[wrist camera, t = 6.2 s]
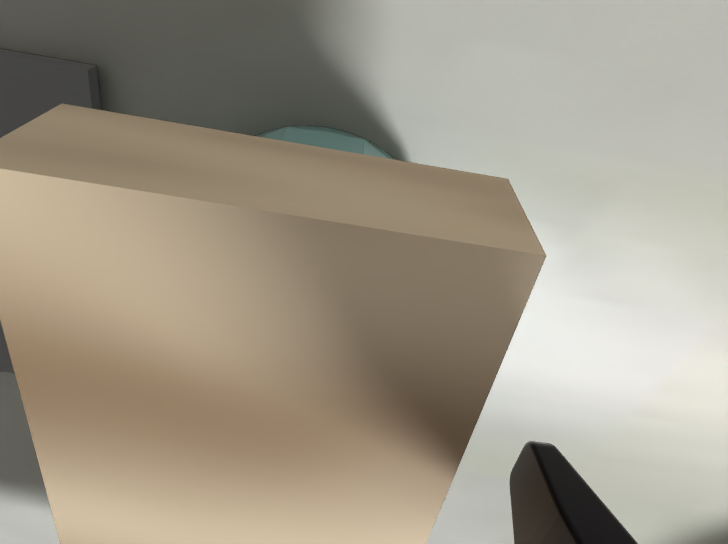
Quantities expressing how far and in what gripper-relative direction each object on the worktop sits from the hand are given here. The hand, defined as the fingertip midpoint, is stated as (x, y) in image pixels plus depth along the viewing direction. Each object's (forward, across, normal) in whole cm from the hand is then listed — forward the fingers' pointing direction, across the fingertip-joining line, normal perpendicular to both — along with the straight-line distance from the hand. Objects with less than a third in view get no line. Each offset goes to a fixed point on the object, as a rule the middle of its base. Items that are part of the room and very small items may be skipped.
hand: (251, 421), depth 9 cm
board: (+2, 0, 0) cm, 2 cm away
